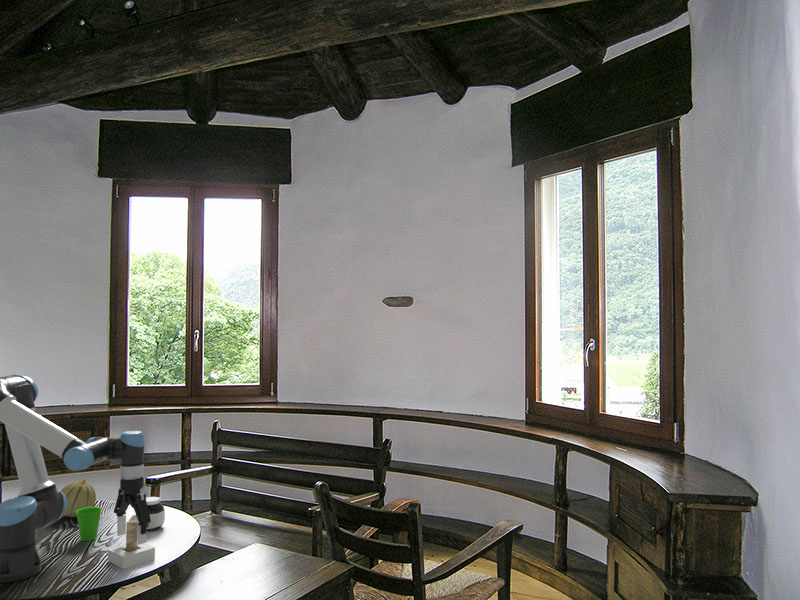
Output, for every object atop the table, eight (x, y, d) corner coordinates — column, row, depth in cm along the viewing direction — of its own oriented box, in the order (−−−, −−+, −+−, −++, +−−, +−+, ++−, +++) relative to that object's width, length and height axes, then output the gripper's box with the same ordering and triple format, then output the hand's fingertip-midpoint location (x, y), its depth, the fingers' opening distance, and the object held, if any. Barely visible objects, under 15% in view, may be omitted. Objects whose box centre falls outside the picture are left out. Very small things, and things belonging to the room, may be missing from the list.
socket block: (124, 569, 210) (124, 557, 210) (107, 561, 217) (107, 549, 217) (154, 559, 218) (154, 547, 218) (138, 551, 225) (138, 540, 225)
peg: (129, 563, 215) (129, 524, 215) (123, 560, 217) (124, 522, 217) (139, 560, 218) (139, 522, 218) (133, 557, 220) (134, 519, 220)
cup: (69, 541, 236) (70, 511, 236) (91, 534, 244) (91, 505, 244) (85, 545, 232) (85, 515, 232) (107, 537, 240) (107, 508, 240)
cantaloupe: (51, 516, 266) (52, 480, 266) (88, 508, 276) (89, 474, 276) (63, 524, 255) (63, 487, 255) (101, 516, 265) (101, 480, 266)
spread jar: (167, 526, 253) (167, 496, 254) (153, 535, 242) (153, 505, 242) (138, 525, 254) (138, 495, 255) (123, 534, 243) (123, 504, 244)
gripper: (161, 480, 213) (161, 543, 213) (124, 469, 229) (123, 528, 228) (140, 485, 207) (140, 550, 207) (103, 473, 223) (103, 534, 222)
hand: (131, 539), depth 218 cm, fingers open, 13 cm apart
